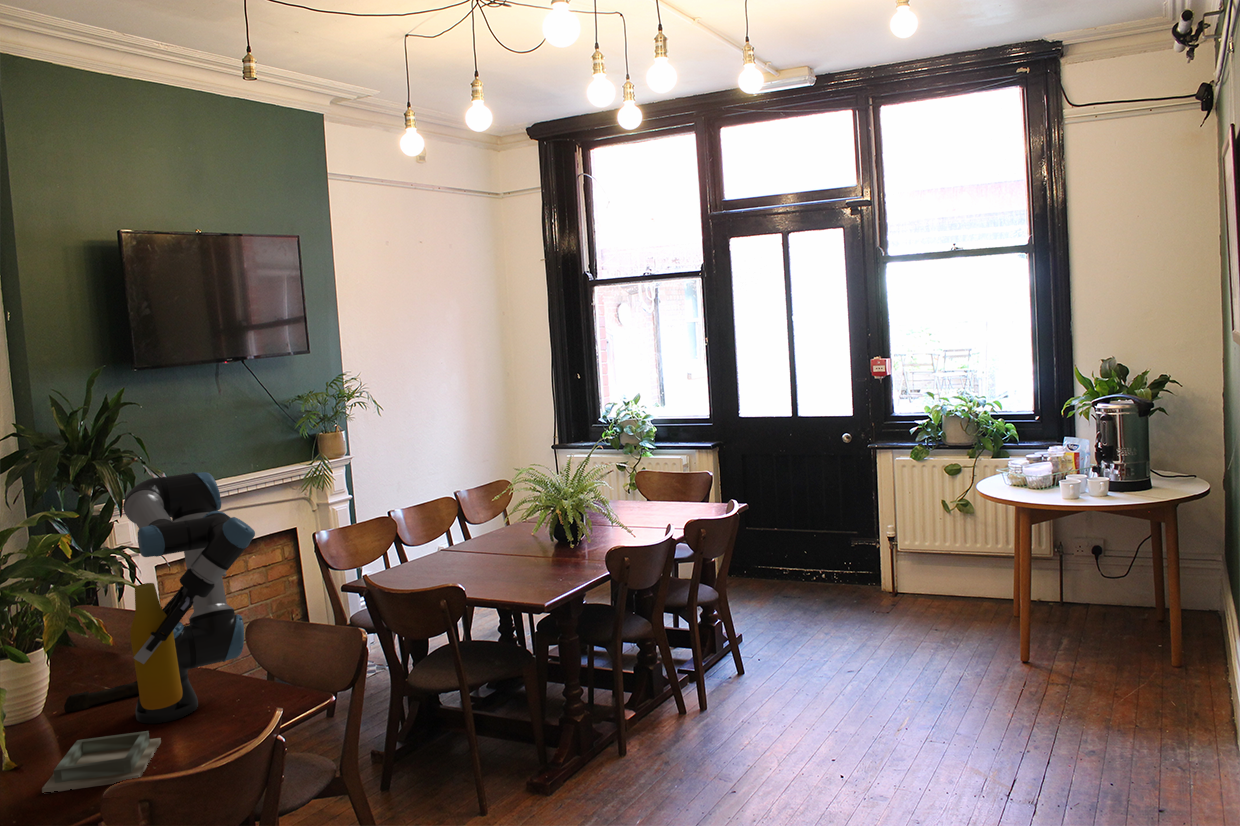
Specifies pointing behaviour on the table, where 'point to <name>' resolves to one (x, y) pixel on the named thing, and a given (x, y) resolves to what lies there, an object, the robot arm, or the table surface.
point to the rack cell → (103, 761)
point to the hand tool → (99, 696)
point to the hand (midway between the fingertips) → (139, 654)
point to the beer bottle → (154, 653)
